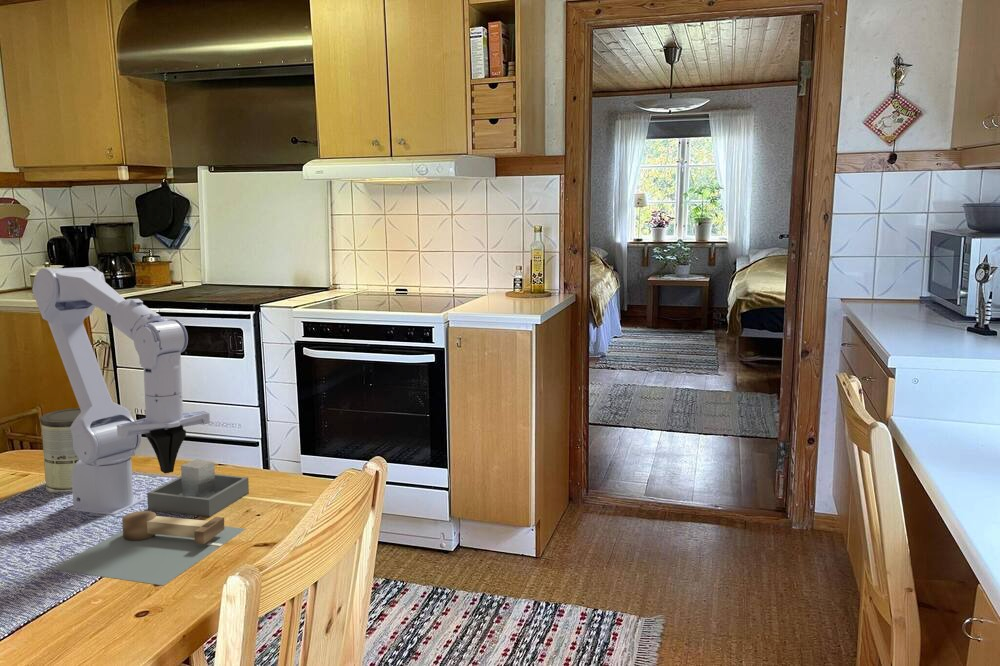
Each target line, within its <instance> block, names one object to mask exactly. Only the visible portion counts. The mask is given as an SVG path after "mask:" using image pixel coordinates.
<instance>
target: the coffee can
mask: <svg viewBox="0 0 1000 666" xmlns="http://www.w3.org/2000/svg"><path fill="white" fill-rule="evenodd" d="M80 413H81V410H80V407H78V408H77V407H76V408H66V409H65V408H64V409H60V410H53V411H51V412H47V413H45V414H43V415H41V416H40V417H39V422H40V423H41V424H40V425H41V438H42V449H43V450H42V451H43V463H44V466H43V467H44V479H45V480H44V481H45V489H46V491H48V492H49V493H54V494H58V493H59V492H72V470H73V468H74V465H75V464H76V463H77V461H79V460H80V459H79V458H78V457H77V455H76V454H75V452H74V448H73V437H72V432H71V429H70V427H71V425H72V423H73V422H74V420H75V419H76V418H77V417H78V415H79V414H80ZM99 425H100V424H99ZM94 426H95V425H94ZM90 427H91V426H90Z"/></svg>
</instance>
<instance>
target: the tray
mask: <svg viewBox="0 0 1000 666" xmlns="http://www.w3.org/2000/svg"><path fill="white" fill-rule="evenodd" d="M249 490H250V489H249V477H248V476H239V475H238V476H236V475H227V474H218V473H215V495H213V496H211V497H209V498H201V497H192V496H183V495H182V478H181V476H179V477H177V478H174V479H173V480H172V479H171V481H168V482H166V483H164V484H163V485H160V486H159V487H156V488H155V489H153V490H150V491H149V492H147V493H146V494H147V495H146V496H147V511H152V512H160V513H161V512H162V513H170V514H179V515H187V516H194V517H195V516H196V517H204V518H211V517H213V516H215V515H216V514H218V513H219V512H221V511H223V510H224V509H226V508H227V507H230V506H231V505H232V504H234V503H235V502H237V501H239V500H241V499H243V498H244V497H245V496H247V495H249Z"/></svg>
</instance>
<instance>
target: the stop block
mask: <svg viewBox="0 0 1000 666" xmlns="http://www.w3.org/2000/svg"><path fill="white" fill-rule="evenodd" d="M215 471H216V470H215V462H214V461H209V460H202V459H194V460H192V461H188V462H187V463H184V464H181V465H180V474H181V478H182V495H183V496H192V497H201V498H209V497H211V496H213V495H215V474H216V472H215Z"/></svg>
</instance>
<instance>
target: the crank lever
mask: <svg viewBox="0 0 1000 666" xmlns="http://www.w3.org/2000/svg"><path fill="white" fill-rule="evenodd" d="M121 521H122V531H123V538H124V539H126V540H143V539H147V538H150V537H152V536H154V535H155V534H160V535H170V536H180V537H190V538H195V543H197V544H205V543H206V542H208V541H209V540H211V539H212V538H213V537H215V536H216V535H217V534H219V533H220V532H221V531H223V530H224V526H225V518H224V517H219V516H214V517H213V518H211V519H210V520H201V519H191V518H184V517H183V518H181V517H180V518H179V517H171V516H161V515H160V516H159V515H157V513H156V511H153V510H140V511H139V510H138V511H134V512H130V513H128V514H125V515H124V516H122V520H121Z"/></svg>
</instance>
